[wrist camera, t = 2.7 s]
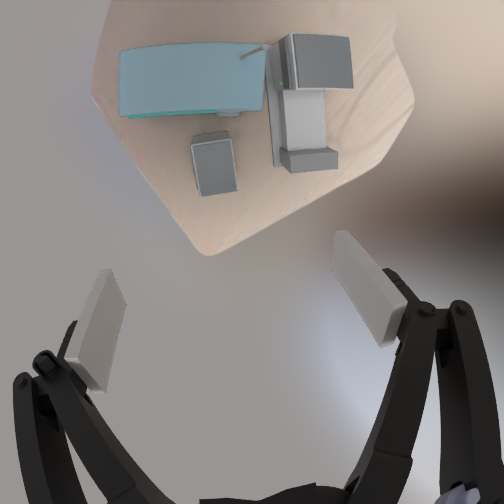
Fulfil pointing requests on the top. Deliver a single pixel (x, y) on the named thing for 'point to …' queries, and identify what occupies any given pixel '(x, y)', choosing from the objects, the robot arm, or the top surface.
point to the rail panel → (294, 116)
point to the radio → (192, 79)
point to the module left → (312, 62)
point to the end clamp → (309, 159)
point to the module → (214, 163)
